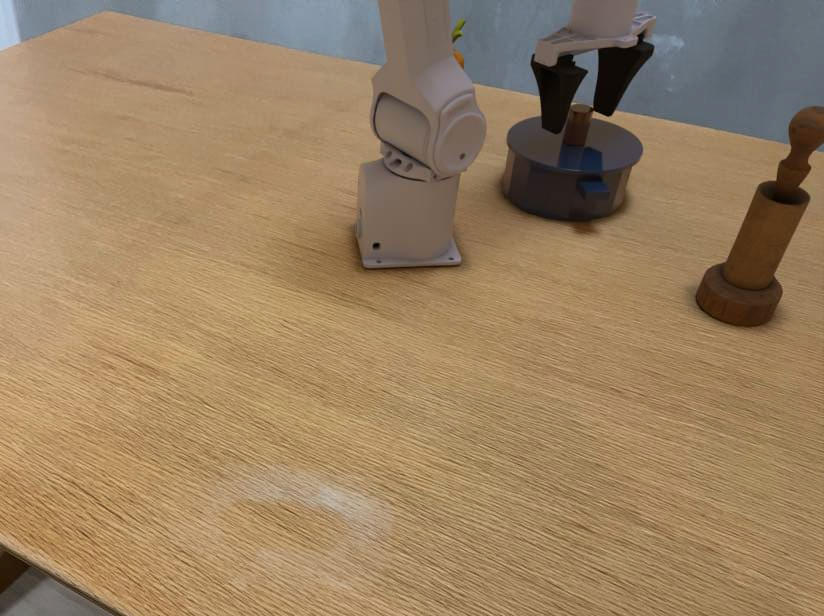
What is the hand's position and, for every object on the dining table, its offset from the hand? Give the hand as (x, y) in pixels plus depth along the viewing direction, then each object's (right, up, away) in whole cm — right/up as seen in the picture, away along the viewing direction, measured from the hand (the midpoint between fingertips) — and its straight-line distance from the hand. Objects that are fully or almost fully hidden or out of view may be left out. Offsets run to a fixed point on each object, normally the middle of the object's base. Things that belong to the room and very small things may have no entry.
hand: (577, 121), depth 85 cm
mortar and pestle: (+10, -20, -11) cm, 25 cm away
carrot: (-13, +1, +14) cm, 19 cm away
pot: (0, -6, +5) cm, 8 cm away
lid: (0, -2, +2) cm, 3 cm away
